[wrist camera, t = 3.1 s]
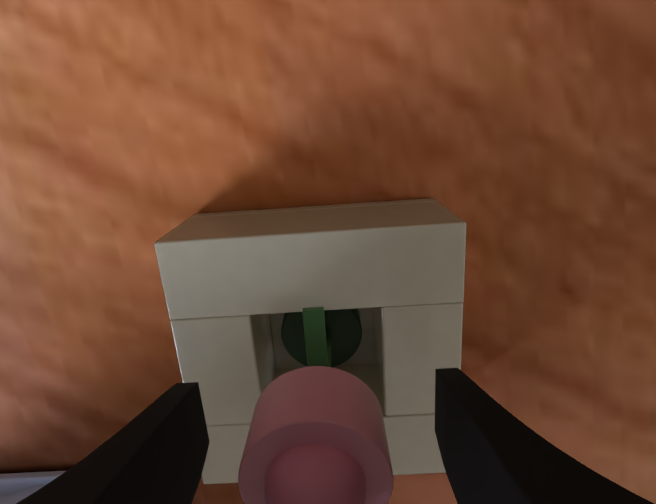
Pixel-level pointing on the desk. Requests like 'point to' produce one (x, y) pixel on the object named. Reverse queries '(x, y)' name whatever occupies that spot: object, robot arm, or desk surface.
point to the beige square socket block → (317, 291)
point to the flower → (317, 422)
